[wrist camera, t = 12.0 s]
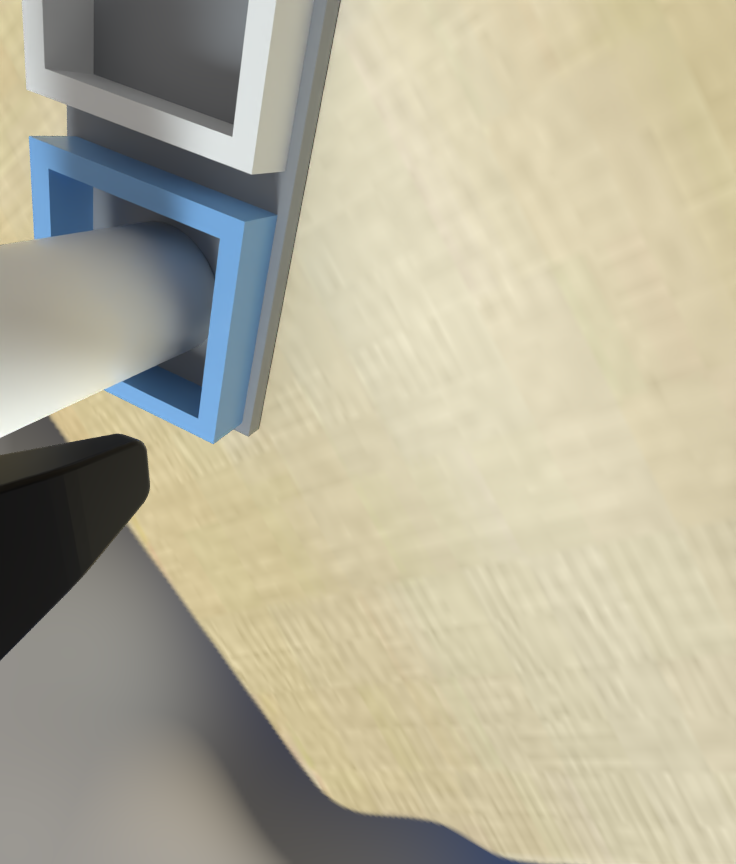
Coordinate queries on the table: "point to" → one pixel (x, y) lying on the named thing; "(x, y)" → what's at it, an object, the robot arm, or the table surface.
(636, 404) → the table surface
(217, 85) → the blue and white tray
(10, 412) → the white bottle
